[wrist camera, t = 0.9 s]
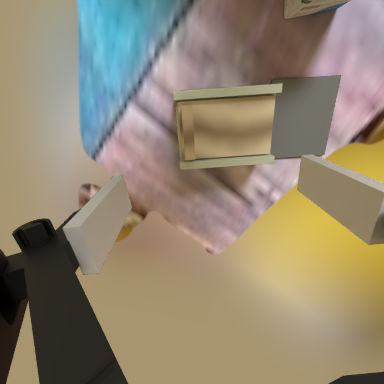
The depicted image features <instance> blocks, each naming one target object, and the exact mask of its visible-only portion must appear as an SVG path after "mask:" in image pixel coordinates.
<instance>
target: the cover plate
mask: <svg viewBox="0 0 384 384" xmlns="http://www.w3.org/2000/svg"><path fill="white" fill-rule="evenodd" d="M275 98H276V95H273V96H258V97H244V98H230V99H215V100H201V101H187V102H178V111H179V123H180V135H181V146H182V158H183V160H195V159H201V158H215V157H229V156H243V155H258V154H270V149H271V139H272V128H273V118H274V108H275Z"/></svg>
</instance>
